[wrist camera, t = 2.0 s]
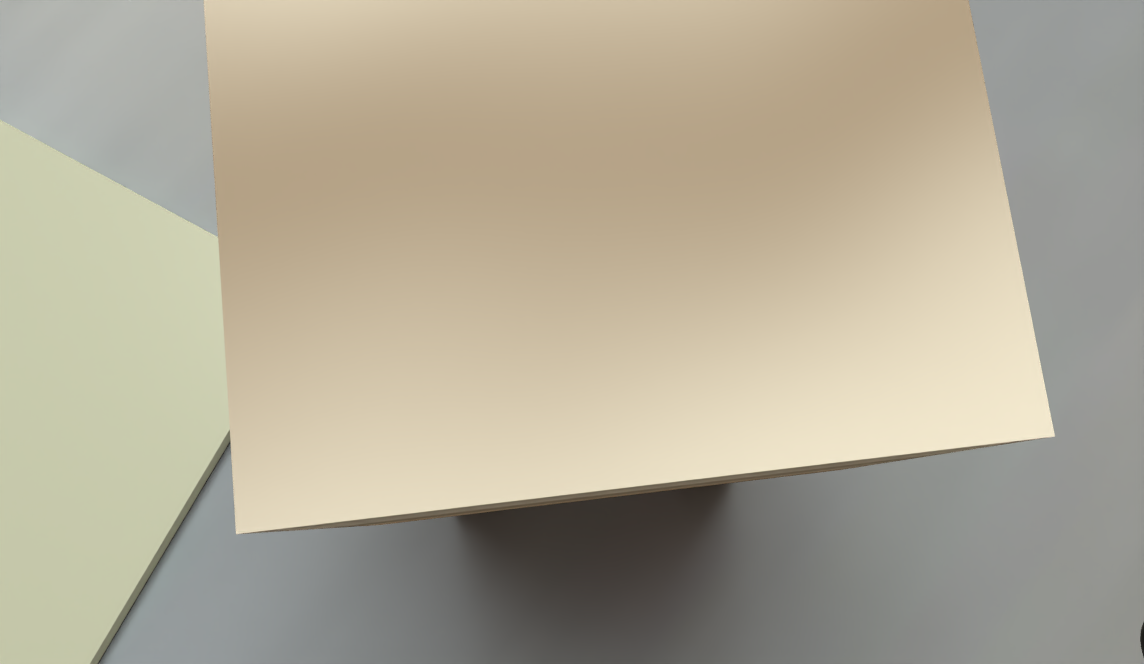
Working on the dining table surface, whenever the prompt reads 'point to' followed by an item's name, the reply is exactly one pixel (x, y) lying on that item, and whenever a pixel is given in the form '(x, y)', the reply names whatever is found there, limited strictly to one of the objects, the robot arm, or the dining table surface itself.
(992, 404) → the stool
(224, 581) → the dining table surface
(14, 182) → the placemat
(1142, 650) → the robot arm
